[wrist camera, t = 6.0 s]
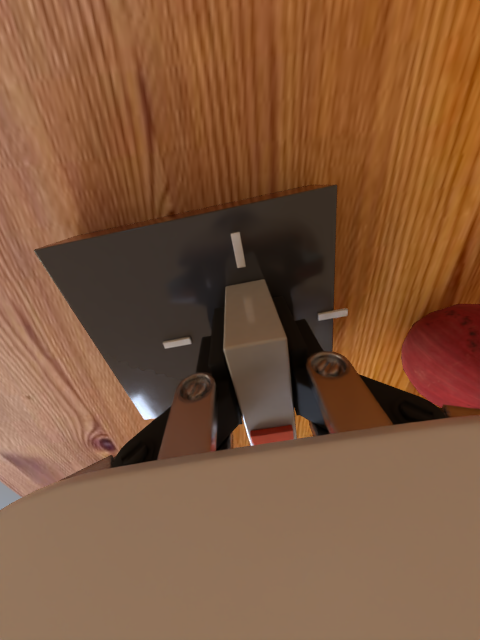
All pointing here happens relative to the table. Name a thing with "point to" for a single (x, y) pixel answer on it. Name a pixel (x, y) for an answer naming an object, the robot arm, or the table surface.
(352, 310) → the table surface
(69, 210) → the table surface
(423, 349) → the onion
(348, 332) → the table surface
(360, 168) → the table surface
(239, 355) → the knob
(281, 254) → the dial base
